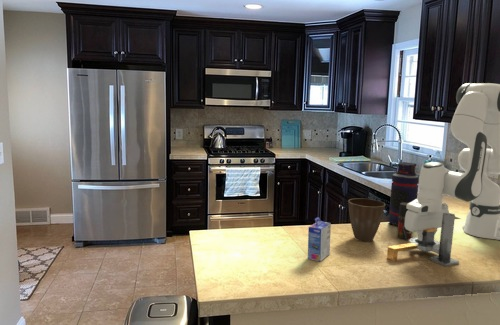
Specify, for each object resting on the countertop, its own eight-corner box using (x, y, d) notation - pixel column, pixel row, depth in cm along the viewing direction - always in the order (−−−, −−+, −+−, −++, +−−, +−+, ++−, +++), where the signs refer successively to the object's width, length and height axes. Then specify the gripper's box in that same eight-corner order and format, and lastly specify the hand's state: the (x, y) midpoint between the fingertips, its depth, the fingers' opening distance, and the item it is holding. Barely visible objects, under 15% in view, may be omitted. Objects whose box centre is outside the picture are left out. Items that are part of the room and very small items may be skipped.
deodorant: (399, 234, 182) (402, 201, 180) (413, 237, 178) (416, 204, 176) (395, 237, 178) (398, 204, 175) (409, 241, 174) (412, 206, 172)
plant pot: (351, 231, 185) (354, 196, 183) (385, 237, 177) (388, 201, 175) (341, 240, 172) (343, 202, 170) (377, 247, 165) (380, 208, 162)
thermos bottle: (406, 229, 190) (411, 165, 185) (383, 223, 199) (388, 162, 194) (421, 225, 198) (427, 163, 194) (398, 219, 208) (404, 160, 203)
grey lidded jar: (424, 247, 163) (426, 225, 161) (434, 251, 158) (436, 228, 157) (415, 248, 161) (417, 226, 159) (425, 252, 156) (427, 229, 155)
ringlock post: (423, 246, 167) (427, 203, 165) (463, 263, 151) (468, 215, 148) (379, 253, 157) (382, 208, 155) (416, 272, 141) (421, 221, 139)
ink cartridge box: (316, 250, 159) (318, 214, 157) (330, 253, 156) (332, 216, 154) (306, 258, 150) (308, 220, 148) (320, 262, 147) (323, 222, 145)
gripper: (441, 200, 164) (438, 234, 166) (403, 204, 156) (400, 240, 158) (455, 204, 159) (451, 239, 161) (416, 209, 150) (413, 245, 152)
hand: (425, 239), depth 159 cm, fingers closed on grey lidded jar, 4 cm apart
